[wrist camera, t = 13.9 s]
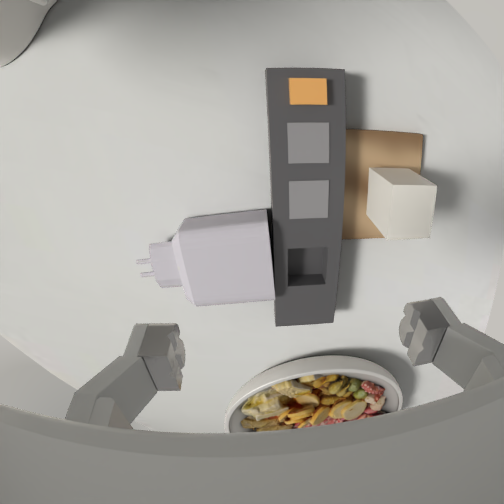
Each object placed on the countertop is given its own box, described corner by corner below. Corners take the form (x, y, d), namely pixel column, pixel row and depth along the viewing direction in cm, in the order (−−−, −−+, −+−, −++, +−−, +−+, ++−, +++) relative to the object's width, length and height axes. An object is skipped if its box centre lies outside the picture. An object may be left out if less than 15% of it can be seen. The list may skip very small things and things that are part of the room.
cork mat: (342, 129, 30) (344, 129, 29) (419, 133, 29) (422, 134, 29) (338, 236, 35) (340, 239, 34) (409, 233, 35) (411, 236, 34)
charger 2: (364, 164, 30) (392, 184, 24) (402, 165, 30) (437, 185, 24) (361, 209, 33) (386, 240, 26) (398, 208, 33) (429, 238, 26)
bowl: (221, 438, 57) (218, 470, 50) (234, 336, 43) (231, 380, 36) (359, 439, 58) (365, 468, 51) (422, 345, 44) (440, 380, 37)
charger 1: (134, 222, 35) (266, 206, 34) (154, 289, 39) (274, 279, 38) (120, 241, 31) (268, 223, 30) (144, 313, 35) (276, 303, 34)
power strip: (265, 70, 27) (266, 67, 24) (336, 71, 27) (347, 68, 23) (274, 310, 40) (275, 330, 37) (328, 307, 40) (334, 326, 37)
